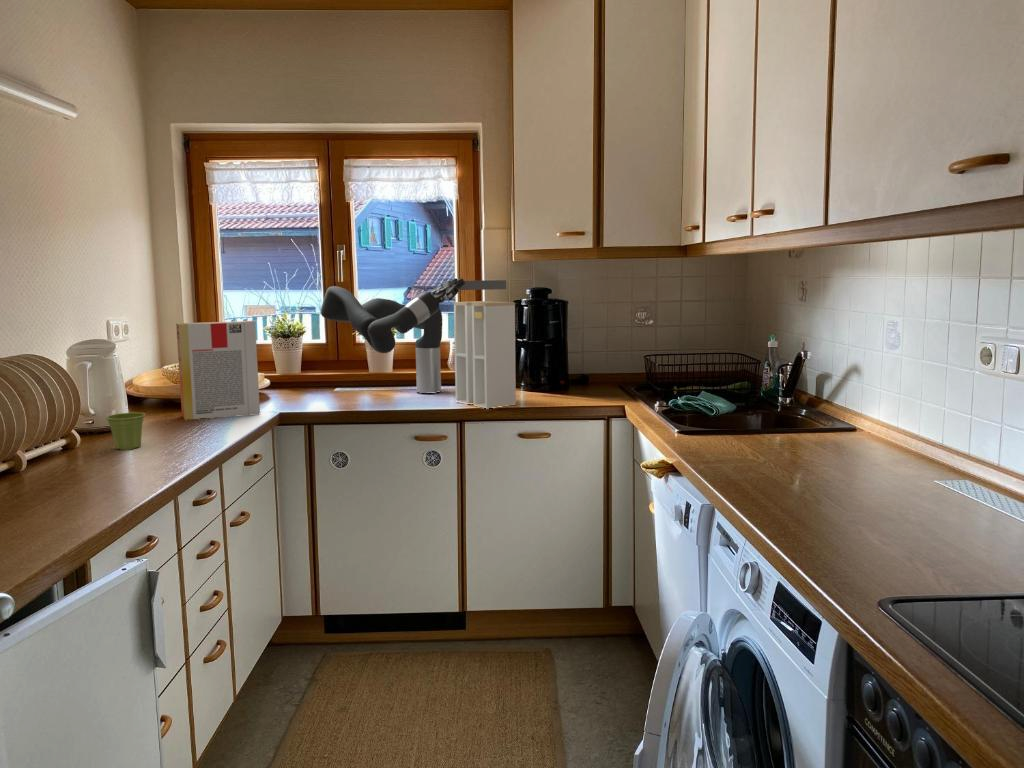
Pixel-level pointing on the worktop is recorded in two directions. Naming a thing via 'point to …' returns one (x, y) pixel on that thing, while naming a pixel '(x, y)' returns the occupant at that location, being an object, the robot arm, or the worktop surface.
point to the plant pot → (126, 429)
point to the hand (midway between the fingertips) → (460, 280)
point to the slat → (479, 285)
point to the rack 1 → (463, 351)
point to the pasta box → (218, 369)
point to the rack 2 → (493, 354)
